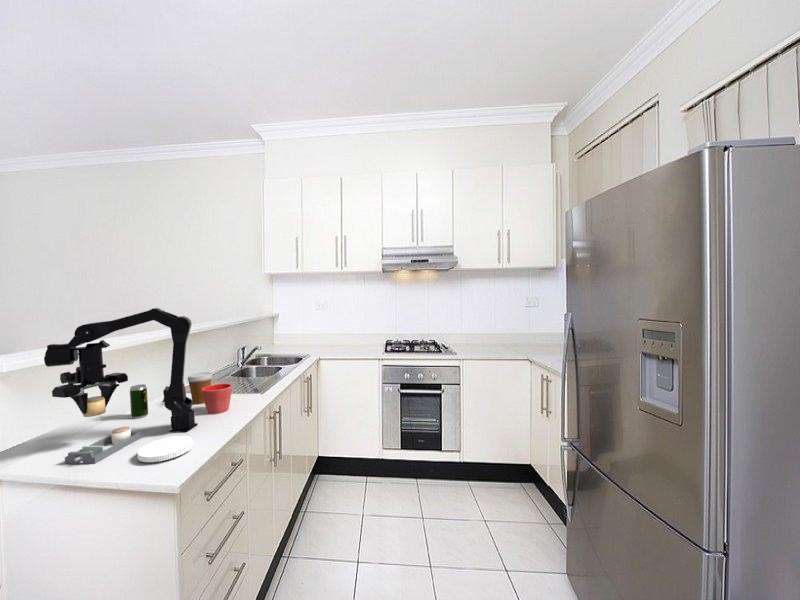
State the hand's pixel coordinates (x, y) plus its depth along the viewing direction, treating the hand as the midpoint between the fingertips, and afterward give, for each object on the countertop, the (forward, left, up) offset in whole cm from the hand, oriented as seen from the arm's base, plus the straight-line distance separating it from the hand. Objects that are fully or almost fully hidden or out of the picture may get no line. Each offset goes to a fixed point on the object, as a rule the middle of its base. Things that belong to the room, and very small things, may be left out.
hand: (94, 410), depth 114 cm
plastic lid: (-28, +6, -11) cm, 31 cm away
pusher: (-7, +11, -10) cm, 17 cm away
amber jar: (0, 0, -1) cm, 1 cm away
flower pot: (-23, -30, -11) cm, 39 cm away
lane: (-7, +4, -11) cm, 14 cm away
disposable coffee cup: (-9, -41, -11) cm, 43 cm away
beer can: (+5, -24, -11) cm, 27 cm away
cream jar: (-7, -1, -11) cm, 13 cm away
